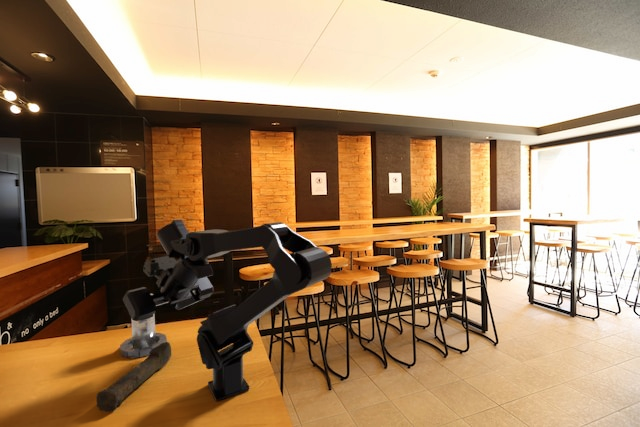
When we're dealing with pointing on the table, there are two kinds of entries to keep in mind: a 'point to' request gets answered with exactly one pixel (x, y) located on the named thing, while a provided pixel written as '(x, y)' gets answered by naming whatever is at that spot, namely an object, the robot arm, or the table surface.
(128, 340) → the ring
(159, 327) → the table surface
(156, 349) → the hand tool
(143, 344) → the silver metal cylinder
